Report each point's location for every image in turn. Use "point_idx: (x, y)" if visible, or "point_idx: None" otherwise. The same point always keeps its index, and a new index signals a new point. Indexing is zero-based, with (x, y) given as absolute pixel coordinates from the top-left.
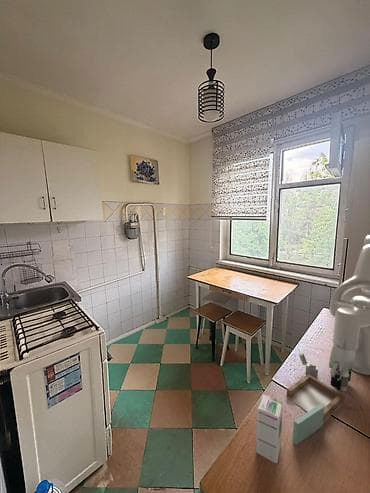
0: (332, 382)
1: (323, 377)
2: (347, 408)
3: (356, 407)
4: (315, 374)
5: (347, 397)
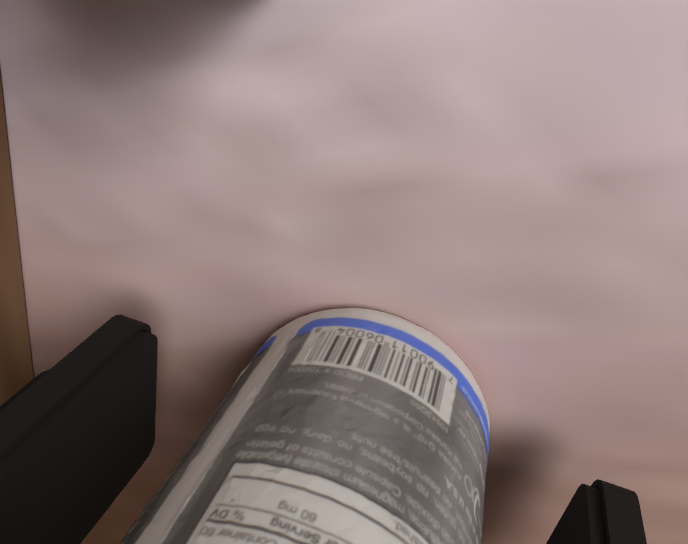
0: (2, 406)
1: (407, 102)
2: None
3: (116, 535)
4: None
5: None
